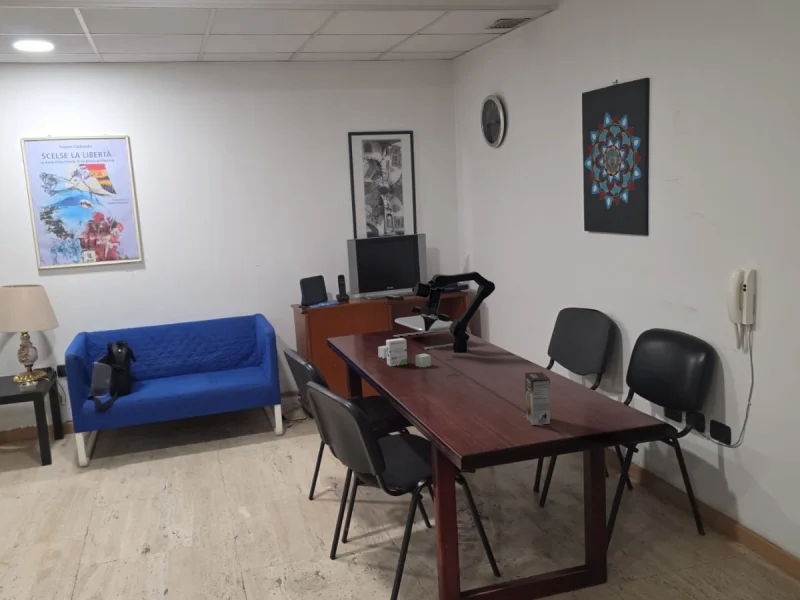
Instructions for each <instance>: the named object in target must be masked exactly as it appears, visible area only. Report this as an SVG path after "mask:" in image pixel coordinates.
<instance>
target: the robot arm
mask: <svg viewBox="0 0 800 600" xmlns="http://www.w3.org/2000/svg"><path fill="white" fill-rule="evenodd" d="M471 281H474V283H476V285H478V287H477V290H476V294H475V295H474V296H473V298H472V300H471V301H470V303H469V304H468V306H467V307H466V308H465V310H464V311H463V313H462V314H461V316H460V317H459V318H458V319H456V318H454V319H453V320H452V321H451V318H450V315H447V314H443V313H440V314H439V311H438V310H439V307H440V306H441V303H440V302H441V297H442V293H443V294H447V291H446V289H445V287H447V286H449V285H451V284H455V283H456V284H457V283H464V282H471ZM495 289H496V284H495V283H494V281H492V280H488V279H486V278H485V277H484V276H482V275H481V274H480V273H479V272H477V271H471V272H470V271H469V272H464V273H463V272H462V273H456V274H443V273H442V274H438V273H436V274H433V276H432V277H431V280H429V281H428V282H427V283H422V282H419V281H417V283H416V285H415V287H414V288H413V296H414V297H418V298H423V299H427V300H426V302H425V304H423V305H422V306H413V307H412V308H411V310H410V312H411V313H414V314H420V315H422V316H421V317H423V319H424V324H425V331H426V332H427V331H428V330H429V329H430V327H431V326H432V325H433V324H434V322H435V321H436V320H437V321H438V319H439V320H441V321H444V322H449V321H451V322H452V324H450V329H449V333H450V334H451V335H453V338H454V339H453V342H452V343H453V346H452V347H453V353H464V352H466V353H468V352H469V350H470V349H469V340H470V339H469V335H468V332H466V331H467V327H468V325H469V322H470V321H471V319H472V318H473V316H474V314H475V313H476V312H477V311H478V309H479V308H480V306H481V305H482V304H483V302H484V301H485V299H486V298H488V297H489V296H491V294H493V293H494V291H495ZM429 316H431V317H429ZM467 351H468V352H467Z"/></svg>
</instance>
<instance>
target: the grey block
mask: <svg viewBox="0 0 800 600" xmlns="http://www.w3.org/2000/svg"><path fill="white" fill-rule="evenodd" d="M377 349H378V351H377V354H378V358H381V357H382V358H381V359H384V358H385V359H387V351H386V345H381V346H378V347H377Z"/></svg>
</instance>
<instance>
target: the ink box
mask: <svg viewBox="0 0 800 600" xmlns="http://www.w3.org/2000/svg"><path fill="white" fill-rule="evenodd" d="M385 346H386V351H387V358H386V364H387V366H389V367H397V366H405V365H408V353H407V352H408V351H407V350H408V348H407V339H406V338H403V337H398V338H393V339H392V338H391V339H386V340H385ZM404 364H405V365H404ZM396 365H397V366H396Z"/></svg>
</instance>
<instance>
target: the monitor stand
mask: <svg viewBox="0 0 800 600" xmlns="http://www.w3.org/2000/svg"><path fill="white" fill-rule="evenodd" d="M421 316H422V314H420V315H413V316H405V317H397V318H395V319H394V322H395V323H397V324H399V325H402V326H405V327H407V328H410V329H413V330H415V331H416V332H410V333H402V334H396V335H395V334H394V335H392V338H393V337H396V338H401V337H400V336H403V337H409V336H408V335H411V336H416V334H418V335H423V333H426V334H430V332H431V333H433V332H437V331H445V330H450V324H452V322H453V321H451V320H449V322H444V321H441V320H439V319H438V321H437V320H436V321H435V322H434V324H433V325H432V326H431V327H430V329H429V330H428V331H427V332H426V331H425V324H424V319H423V317H421ZM429 317H431V316H429ZM466 331H467V334H468V335H469V340H470V339H471V335H472V332H471V328H469V326H467V329H466ZM447 346H449V347H453V342H452V343H447V344H438V345H433V346H426V347H422V350H423V351H428V350H427V349H429V350H434V348H435V349H441V348H440V347H442V348H448V347H447Z"/></svg>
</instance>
